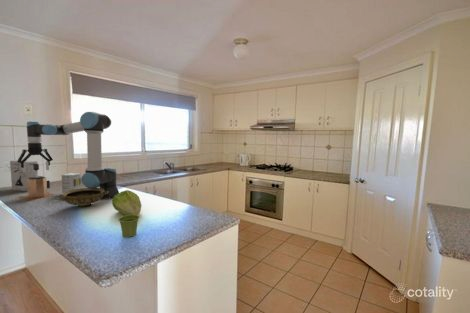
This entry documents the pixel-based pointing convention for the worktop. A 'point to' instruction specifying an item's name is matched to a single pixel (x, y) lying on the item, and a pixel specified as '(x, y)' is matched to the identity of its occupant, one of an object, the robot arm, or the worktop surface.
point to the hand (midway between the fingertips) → (36, 171)
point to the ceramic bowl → (83, 196)
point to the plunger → (36, 168)
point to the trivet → (36, 198)
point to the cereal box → (21, 174)
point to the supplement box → (71, 181)
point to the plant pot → (129, 225)
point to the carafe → (37, 187)
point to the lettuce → (127, 203)
